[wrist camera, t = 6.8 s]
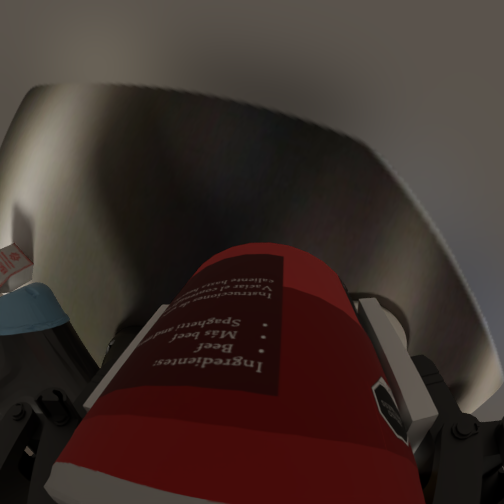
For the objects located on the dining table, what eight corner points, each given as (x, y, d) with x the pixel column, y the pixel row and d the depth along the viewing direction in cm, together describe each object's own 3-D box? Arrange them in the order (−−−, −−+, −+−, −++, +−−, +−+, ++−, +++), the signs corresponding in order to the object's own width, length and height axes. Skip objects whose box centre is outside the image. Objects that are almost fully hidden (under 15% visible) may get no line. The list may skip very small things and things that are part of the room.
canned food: (310, 389, 14) (312, 574, 4) (174, 345, 14) (78, 520, 4) (379, 274, 12) (512, 495, 1) (211, 210, 12) (-34, 402, 1)
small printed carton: (31, 279, 37) (-6, 302, 28) (12, 258, 37) (-24, 277, 27) (33, 264, 36) (-7, 285, 26) (14, 243, 35) (-25, 260, 26)
